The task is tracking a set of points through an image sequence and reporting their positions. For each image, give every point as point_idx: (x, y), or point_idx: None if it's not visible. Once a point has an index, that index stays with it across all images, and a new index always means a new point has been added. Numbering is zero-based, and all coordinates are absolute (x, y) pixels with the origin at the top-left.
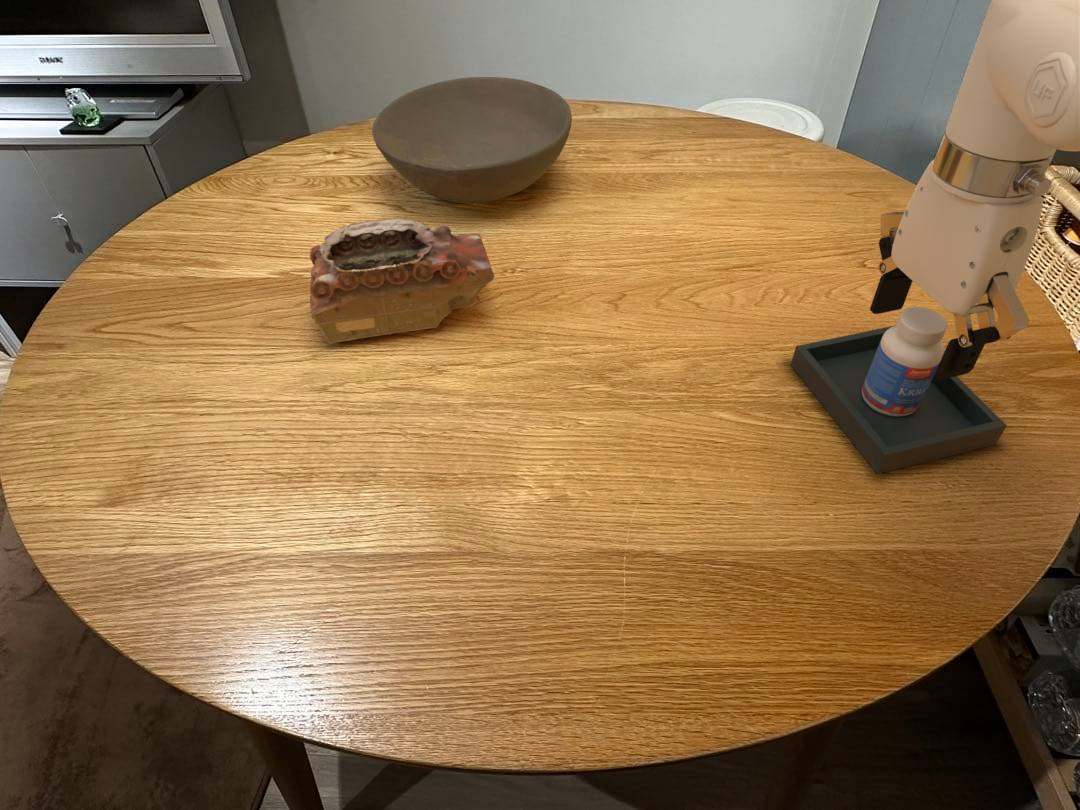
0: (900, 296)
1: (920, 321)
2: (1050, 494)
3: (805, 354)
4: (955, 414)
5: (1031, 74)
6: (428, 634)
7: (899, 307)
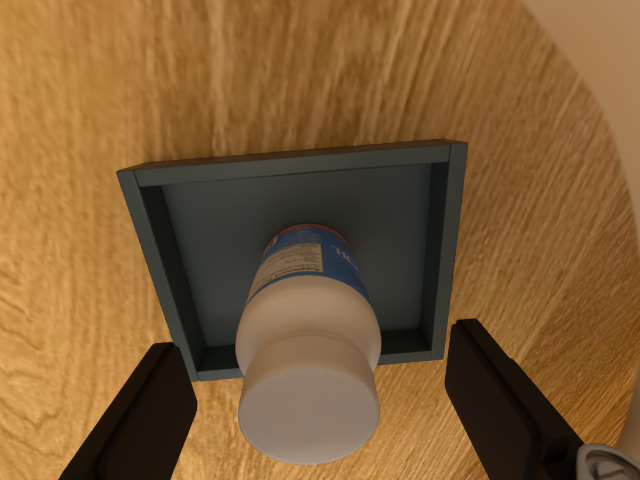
0: (161, 403)
1: (316, 432)
2: (563, 117)
3: (210, 378)
4: (370, 177)
5: None
6: None
7: (177, 357)
